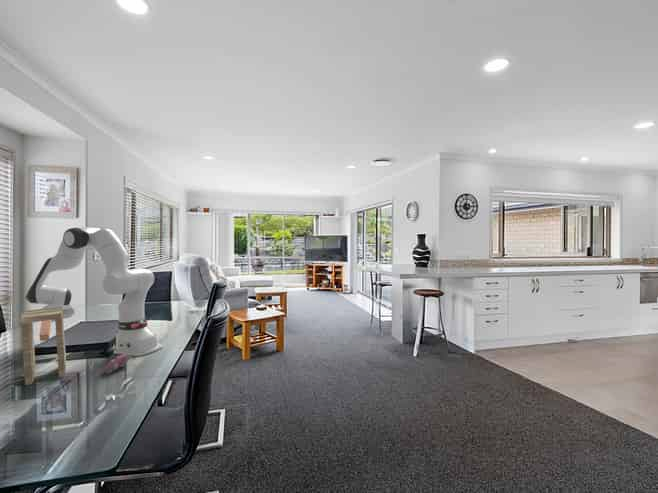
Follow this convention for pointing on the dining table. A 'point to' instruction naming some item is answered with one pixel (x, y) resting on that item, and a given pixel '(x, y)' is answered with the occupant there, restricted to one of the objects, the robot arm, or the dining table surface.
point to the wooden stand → (29, 339)
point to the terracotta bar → (45, 330)
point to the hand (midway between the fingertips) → (47, 314)
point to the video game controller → (116, 363)
